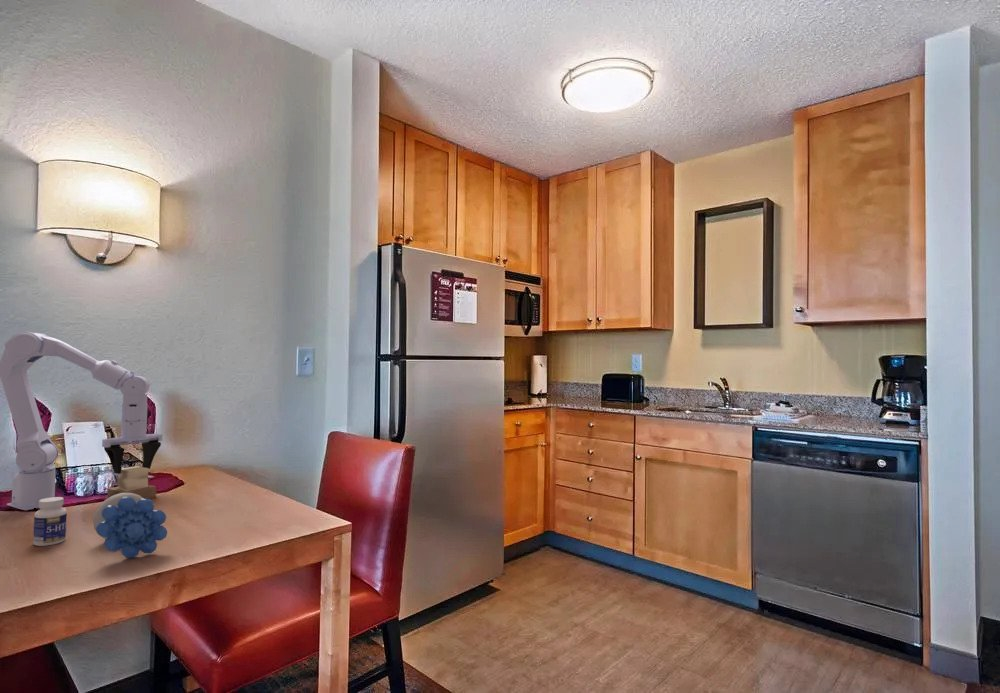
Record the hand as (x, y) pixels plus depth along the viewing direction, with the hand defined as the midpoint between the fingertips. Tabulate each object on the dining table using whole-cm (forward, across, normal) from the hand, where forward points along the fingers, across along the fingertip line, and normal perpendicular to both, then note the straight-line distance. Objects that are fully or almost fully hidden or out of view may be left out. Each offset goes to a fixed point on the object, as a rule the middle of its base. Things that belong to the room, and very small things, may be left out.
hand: (132, 470), depth 150 cm
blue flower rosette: (+8, -25, -45) cm, 52 cm away
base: (+8, 0, 0) cm, 8 cm away
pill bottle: (+8, -28, -21) cm, 36 cm away
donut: (+8, -20, -32) cm, 39 cm away
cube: (+4, 0, 0) cm, 4 cm away
